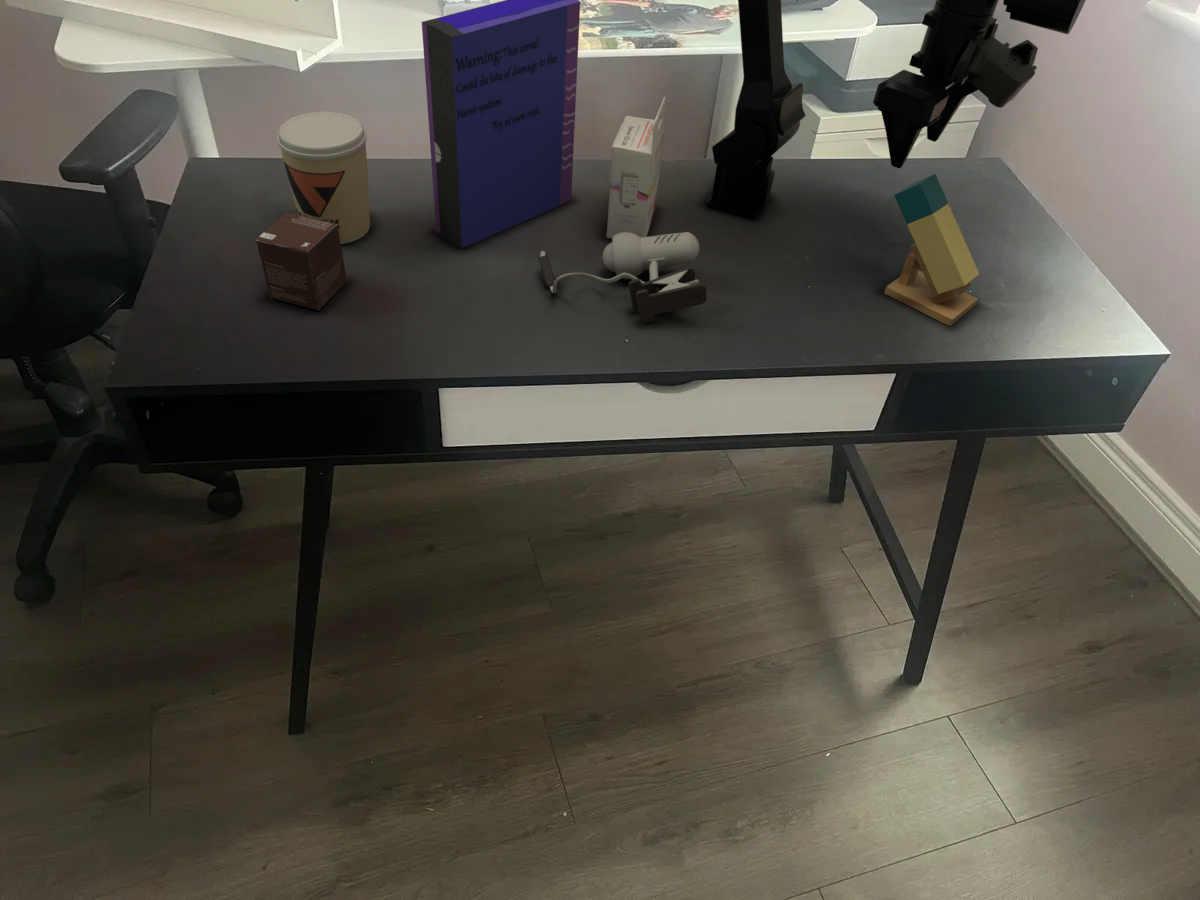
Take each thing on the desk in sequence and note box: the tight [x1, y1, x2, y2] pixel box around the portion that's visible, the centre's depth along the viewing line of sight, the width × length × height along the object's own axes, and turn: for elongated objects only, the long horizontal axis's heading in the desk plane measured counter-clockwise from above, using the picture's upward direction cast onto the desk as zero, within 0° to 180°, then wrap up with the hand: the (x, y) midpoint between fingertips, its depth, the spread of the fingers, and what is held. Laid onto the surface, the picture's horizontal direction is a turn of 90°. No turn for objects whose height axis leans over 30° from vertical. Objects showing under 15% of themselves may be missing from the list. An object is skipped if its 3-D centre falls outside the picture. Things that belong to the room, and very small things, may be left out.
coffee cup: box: [276, 111, 371, 245], centre depth 102 cm, size 9×9×12 cm
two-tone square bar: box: [893, 173, 980, 294], centre depth 99 cm, size 11×3×11 cm, turn 46°
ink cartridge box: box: [605, 96, 667, 240], centre depth 106 cm, size 9×5×15 cm, turn 168°
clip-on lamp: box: [538, 231, 708, 324], centre depth 99 cm, size 12×6×18 cm
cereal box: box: [421, 0, 581, 250], centre depth 102 cm, size 17×5×24 cm, turn 135°
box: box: [255, 211, 348, 311], centre depth 95 cm, size 6×6×7 cm
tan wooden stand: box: [884, 242, 978, 327], centre depth 101 cm, size 8×6×6 cm
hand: (914, 153), depth 101 cm, fingers open, 9 cm apart
